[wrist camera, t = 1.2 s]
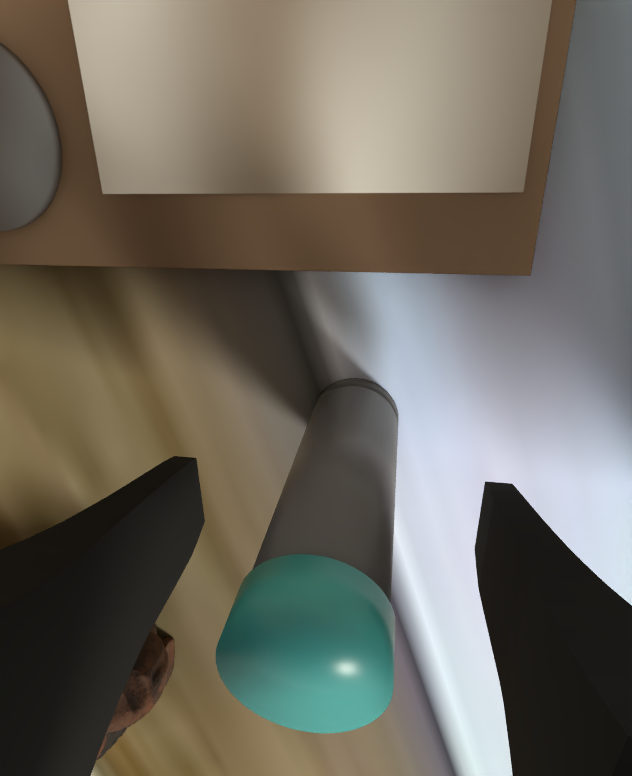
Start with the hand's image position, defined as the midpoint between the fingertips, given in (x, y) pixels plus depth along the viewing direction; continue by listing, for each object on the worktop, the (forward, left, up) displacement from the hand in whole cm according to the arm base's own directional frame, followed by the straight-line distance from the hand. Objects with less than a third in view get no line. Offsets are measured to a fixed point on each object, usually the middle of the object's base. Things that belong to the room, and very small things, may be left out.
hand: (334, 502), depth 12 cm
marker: (0, 0, -5) cm, 5 cm away
